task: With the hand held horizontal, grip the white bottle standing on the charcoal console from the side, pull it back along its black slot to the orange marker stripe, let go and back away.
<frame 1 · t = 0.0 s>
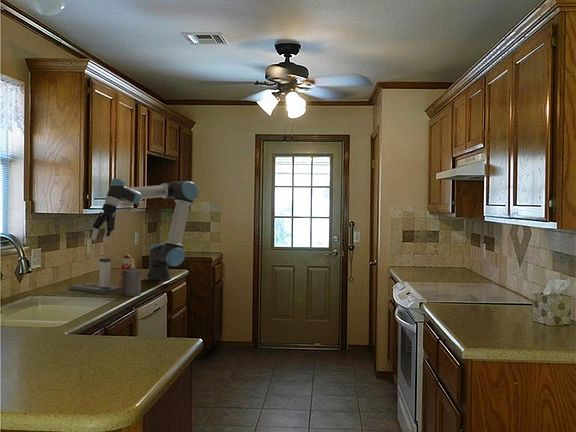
hand: (98, 240, 318), 28 cm above the worktop, tool tilted 20°, fingers open, 13 cm apart
milk carton: (127, 286, 334), on the worktop
pillar candle: (131, 295, 307), on the worktop
console: (96, 289, 318), on the worktop
white bottle: (104, 272, 315), point 10 cm above the worktop, slide at 6.0 cm
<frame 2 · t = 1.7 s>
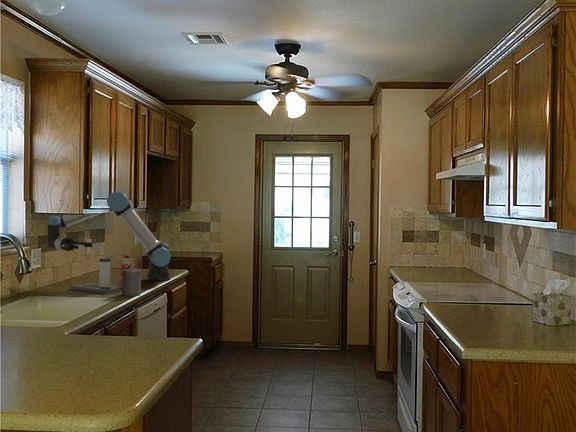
hand: (92, 246, 319), 24 cm above the worktop, tool horizontal, fingers open, 13 cm apart
nothing on the worktop moved.
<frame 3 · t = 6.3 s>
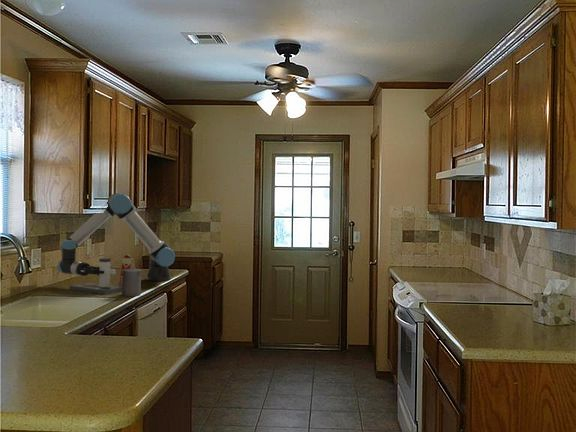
hand: (112, 272, 313), 11 cm above the worktop, tool horizontal, fingers closed on white bottle, 4 cm apart
white bottle: (104, 272, 315), point 10 cm above the worktop, slide at 6.0 cm, touching gripper
everything else where it was.
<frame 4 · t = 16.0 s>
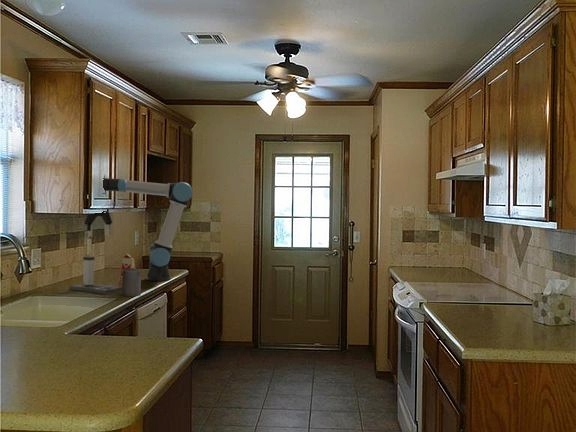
hand: (98, 235, 340), 29 cm above the worktop, tool pointing down, fingers open, 13 cm apart
white bottle: (88, 270, 320), point 10 cm above the worktop, slide at -6.0 cm
everything else where it was.
at the end: white bottle slide at -6.0 cm; the gripper is holding nothing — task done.
